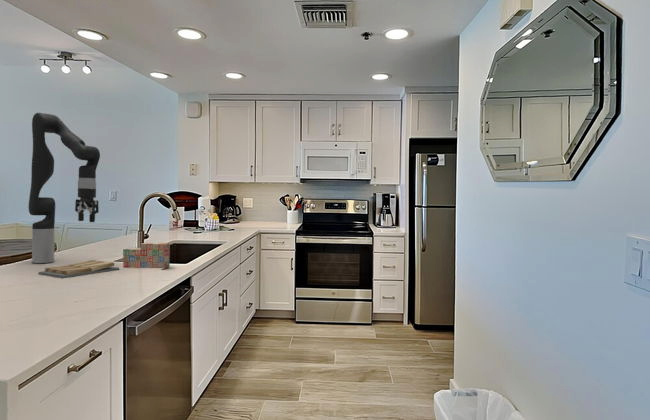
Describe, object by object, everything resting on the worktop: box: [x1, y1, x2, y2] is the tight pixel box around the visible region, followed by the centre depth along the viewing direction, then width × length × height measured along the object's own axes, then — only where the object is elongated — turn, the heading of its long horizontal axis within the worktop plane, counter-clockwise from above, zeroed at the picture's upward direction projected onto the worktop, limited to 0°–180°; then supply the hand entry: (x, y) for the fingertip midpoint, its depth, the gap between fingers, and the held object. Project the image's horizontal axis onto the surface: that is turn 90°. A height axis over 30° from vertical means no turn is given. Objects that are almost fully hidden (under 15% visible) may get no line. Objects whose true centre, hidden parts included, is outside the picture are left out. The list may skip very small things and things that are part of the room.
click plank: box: [69, 259, 115, 271], centre depth 191 cm, size 18×11×2 cm, turn 62°
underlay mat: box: [37, 266, 120, 279], centre depth 187 cm, size 19×26×1 cm
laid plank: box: [44, 264, 91, 275], centre depth 182 cm, size 18×10×2 cm, turn 62°
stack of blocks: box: [122, 242, 171, 269], centre depth 203 cm, size 21×6×12 cm, turn 86°
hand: (86, 221), depth 192 cm, fingers open, 8 cm apart
